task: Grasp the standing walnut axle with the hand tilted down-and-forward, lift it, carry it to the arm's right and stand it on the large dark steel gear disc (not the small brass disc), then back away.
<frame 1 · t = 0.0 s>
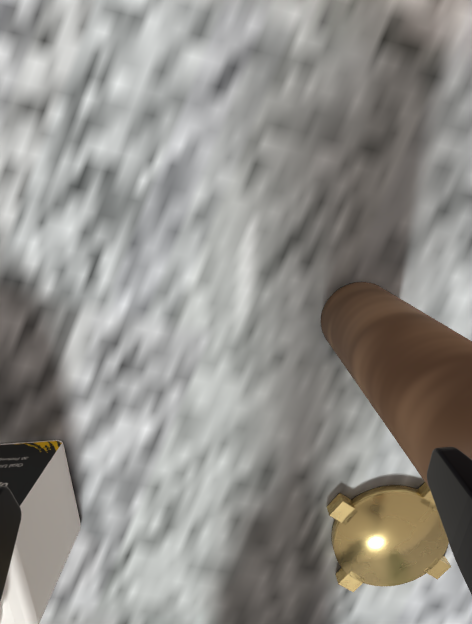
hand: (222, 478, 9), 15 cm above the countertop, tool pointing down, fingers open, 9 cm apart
medicine bottle: (22, 485, 27), on the countertop
brass gear disc: (387, 532, 28), on the countertop
walnut axle: (358, 318, 24), on the countertop
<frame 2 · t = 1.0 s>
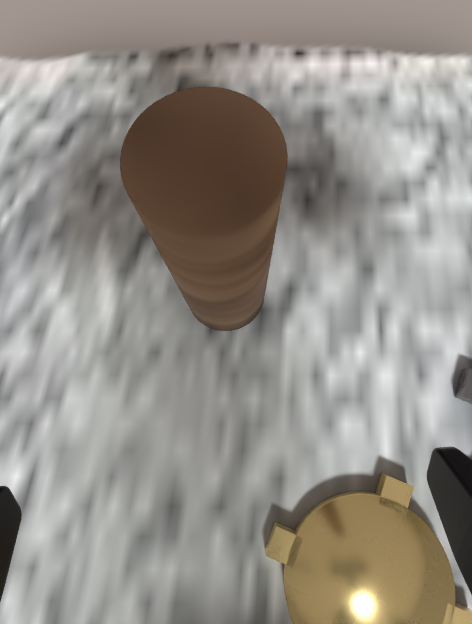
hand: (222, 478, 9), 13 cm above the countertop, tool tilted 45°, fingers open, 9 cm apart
brass gear disc: (364, 578, 20), on the countertop
walnut axle: (225, 293, 23), on the countertop
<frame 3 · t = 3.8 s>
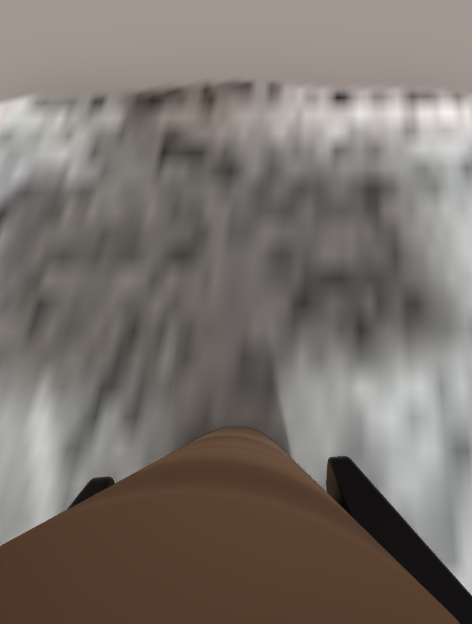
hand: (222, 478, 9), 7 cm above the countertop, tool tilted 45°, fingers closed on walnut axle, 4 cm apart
walnut axle: (235, 490, 15), on the countertop, touching gripper
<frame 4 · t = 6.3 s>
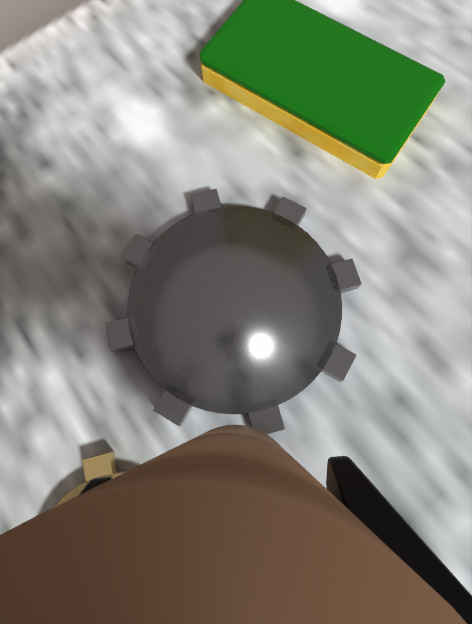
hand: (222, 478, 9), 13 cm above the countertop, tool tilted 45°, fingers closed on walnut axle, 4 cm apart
steel gear disc: (234, 307, 23), on the countertop
brass gear disc: (118, 555, 20), on the countertop
dish sponge: (313, 97, 27), on the countertop
walnut axle: (234, 489, 15), point 7 cm above the countertop, touching gripper
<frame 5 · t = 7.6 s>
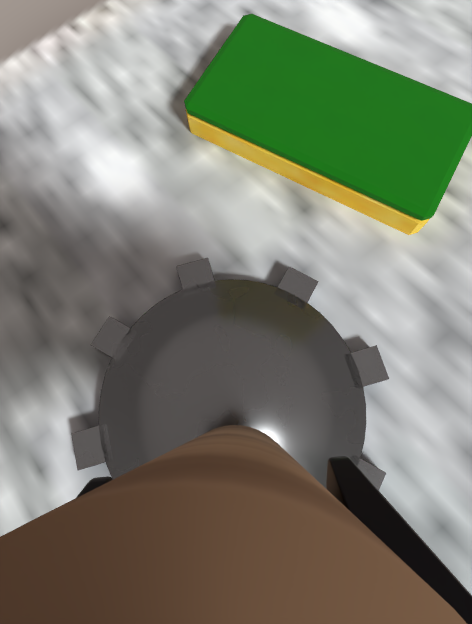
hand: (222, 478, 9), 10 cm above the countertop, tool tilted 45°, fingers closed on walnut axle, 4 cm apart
steel gear disc: (232, 406, 19), on the countertop
dish sponge: (322, 139, 23), on the countertop
walnut axle: (235, 489, 15), point 4 cm above the countertop, touching gripper
when the fingers open (8 cm above the countertop, at t = 8.7 s): walnut axle stays where it is, resting on steel gear disc.
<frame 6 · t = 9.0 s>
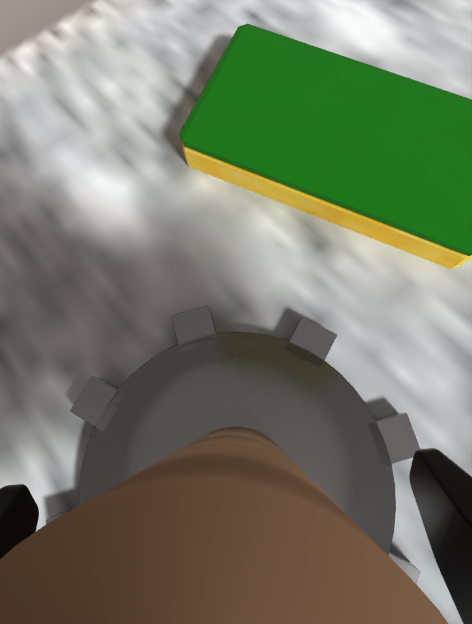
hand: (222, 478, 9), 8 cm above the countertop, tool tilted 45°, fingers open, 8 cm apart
steel gear disc: (236, 483, 16), on the countertop
dish sponge: (338, 162, 20), on the countertop
walnut axle: (235, 488, 15), point 1 cm above the countertop, touching steel gear disc
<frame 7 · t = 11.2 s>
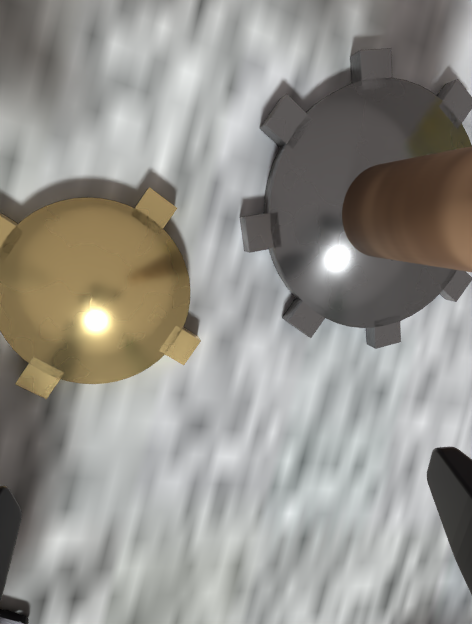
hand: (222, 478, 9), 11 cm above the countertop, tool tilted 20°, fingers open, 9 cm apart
steel gear disc: (373, 211, 21), on the countertop
brass gear disc: (97, 292, 18), on the countertop
walnut axle: (382, 211, 20), point 1 cm above the countertop, touching steel gear disc
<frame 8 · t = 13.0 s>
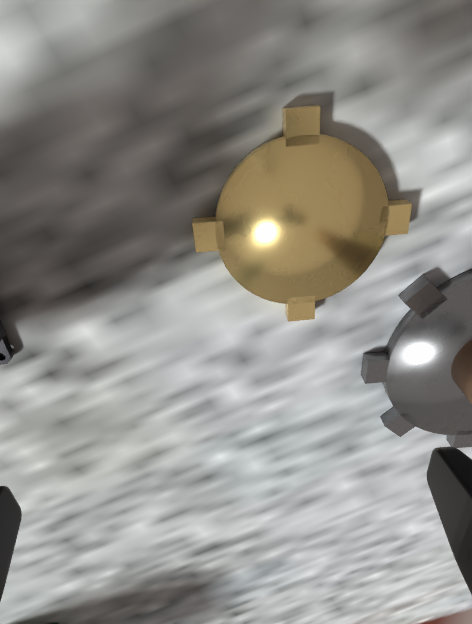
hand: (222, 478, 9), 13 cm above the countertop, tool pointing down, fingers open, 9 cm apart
brass gear disc: (298, 223, 19), on the countertop
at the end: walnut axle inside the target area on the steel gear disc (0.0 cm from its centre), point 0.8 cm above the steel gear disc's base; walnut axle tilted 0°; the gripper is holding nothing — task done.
